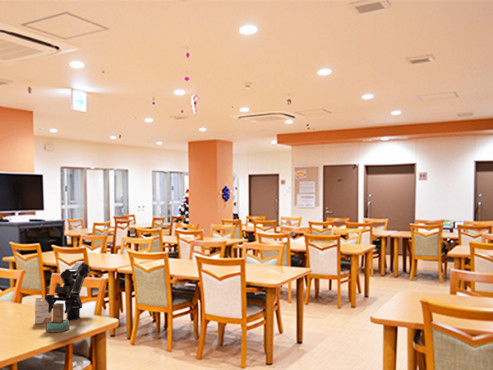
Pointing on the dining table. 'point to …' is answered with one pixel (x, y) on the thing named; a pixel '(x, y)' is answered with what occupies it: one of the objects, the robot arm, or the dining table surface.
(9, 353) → the dining table surface
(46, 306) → the ink cartridge box
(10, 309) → the dining table surface
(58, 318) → the rail post
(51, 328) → the teal square tray
